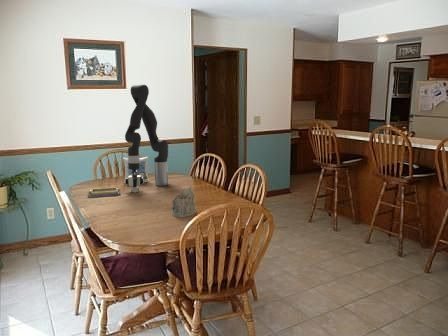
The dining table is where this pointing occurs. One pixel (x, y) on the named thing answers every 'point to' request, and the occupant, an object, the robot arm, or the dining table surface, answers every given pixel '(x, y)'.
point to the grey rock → (183, 204)
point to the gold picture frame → (104, 192)
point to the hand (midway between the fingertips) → (134, 185)
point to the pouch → (140, 172)
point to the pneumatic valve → (130, 181)
